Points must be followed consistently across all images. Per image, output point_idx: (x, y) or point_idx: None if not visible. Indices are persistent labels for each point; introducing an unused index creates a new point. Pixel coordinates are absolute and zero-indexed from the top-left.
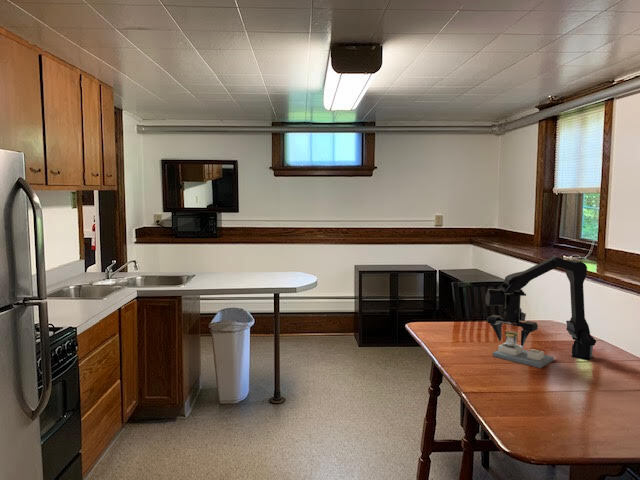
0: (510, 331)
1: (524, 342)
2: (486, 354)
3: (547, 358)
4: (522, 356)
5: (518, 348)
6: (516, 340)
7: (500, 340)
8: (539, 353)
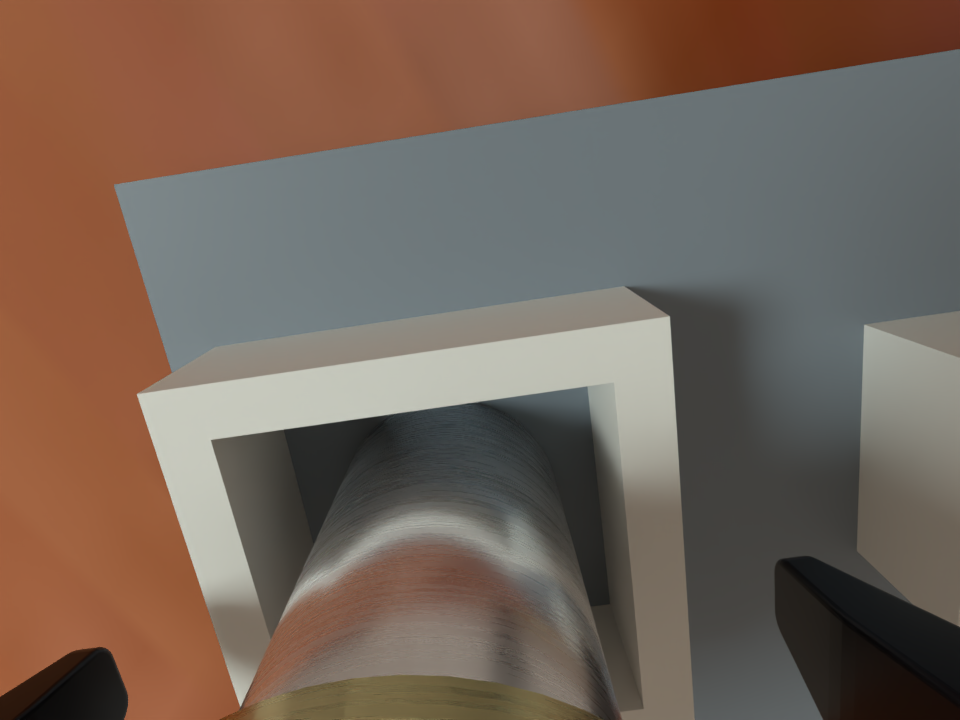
0: None
1: (915, 619)
2: (189, 702)
3: None
4: (762, 562)
5: (686, 608)
6: (600, 658)
7: (113, 700)
8: None
